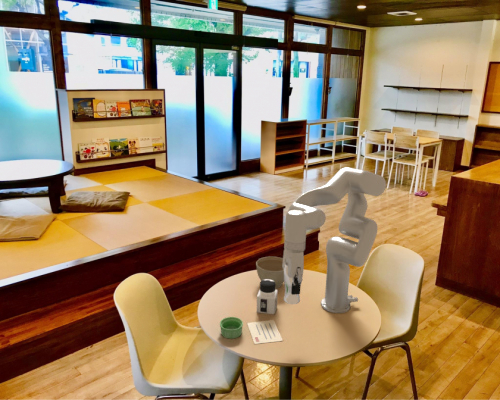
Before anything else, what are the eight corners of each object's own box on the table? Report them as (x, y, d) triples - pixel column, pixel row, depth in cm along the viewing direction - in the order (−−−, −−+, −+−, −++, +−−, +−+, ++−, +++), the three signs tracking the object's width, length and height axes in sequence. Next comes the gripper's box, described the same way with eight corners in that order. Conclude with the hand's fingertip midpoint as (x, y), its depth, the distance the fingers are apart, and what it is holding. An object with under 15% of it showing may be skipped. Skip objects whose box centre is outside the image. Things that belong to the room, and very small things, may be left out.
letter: (273, 320, 172) (273, 320, 171) (283, 340, 158) (283, 340, 158) (247, 323, 169) (247, 322, 169) (254, 344, 156) (254, 343, 156)
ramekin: (236, 324, 169) (236, 314, 168) (247, 335, 161) (247, 326, 160) (216, 330, 165) (216, 320, 163) (225, 342, 157) (225, 332, 156)
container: (274, 314, 176) (275, 286, 172) (256, 312, 177) (256, 284, 173) (277, 305, 183) (278, 278, 179) (259, 303, 184) (260, 276, 181)
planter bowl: (272, 296, 190) (273, 274, 187) (248, 283, 202) (249, 262, 198) (296, 285, 201) (297, 264, 198) (272, 273, 212) (273, 253, 209)
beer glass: (288, 293, 162) (290, 257, 158) (304, 299, 158) (306, 262, 154) (278, 300, 157) (280, 263, 152) (294, 307, 153) (297, 269, 148)
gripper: (277, 236, 158) (275, 279, 163) (293, 254, 142) (290, 301, 147) (296, 235, 160) (293, 277, 165) (313, 252, 144) (310, 299, 149)
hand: (292, 288), depth 156 cm, fingers closed on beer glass, 6 cm apart
